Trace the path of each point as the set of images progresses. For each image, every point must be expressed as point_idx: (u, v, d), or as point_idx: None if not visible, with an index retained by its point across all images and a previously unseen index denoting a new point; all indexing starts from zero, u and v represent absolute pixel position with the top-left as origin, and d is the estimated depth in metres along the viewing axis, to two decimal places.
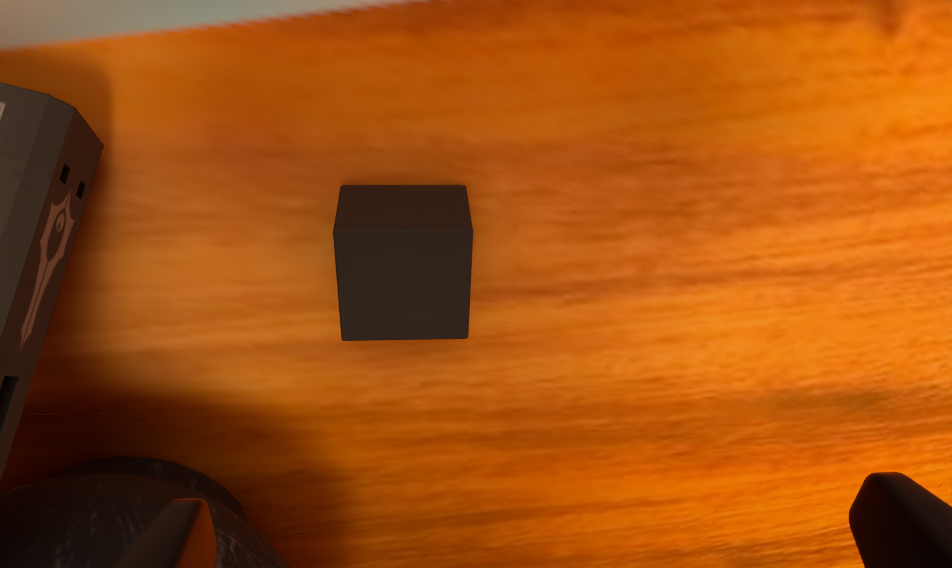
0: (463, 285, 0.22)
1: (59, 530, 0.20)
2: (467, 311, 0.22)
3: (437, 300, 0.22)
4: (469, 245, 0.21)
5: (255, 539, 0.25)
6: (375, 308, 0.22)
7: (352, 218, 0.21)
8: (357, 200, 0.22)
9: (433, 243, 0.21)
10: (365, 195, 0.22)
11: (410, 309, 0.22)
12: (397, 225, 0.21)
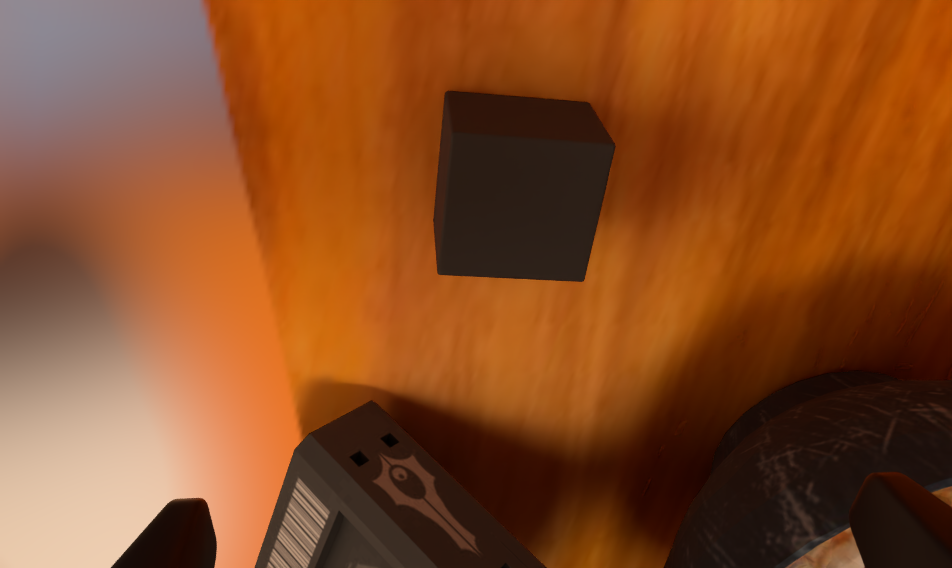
0: (531, 147, 0.17)
1: None
2: (571, 143, 0.17)
3: (547, 179, 0.17)
4: (472, 137, 0.17)
5: (818, 421, 0.21)
6: (544, 245, 0.19)
7: (437, 245, 0.19)
8: (436, 222, 0.20)
9: (465, 177, 0.17)
10: (436, 209, 0.20)
11: (554, 208, 0.18)
12: (442, 209, 0.18)
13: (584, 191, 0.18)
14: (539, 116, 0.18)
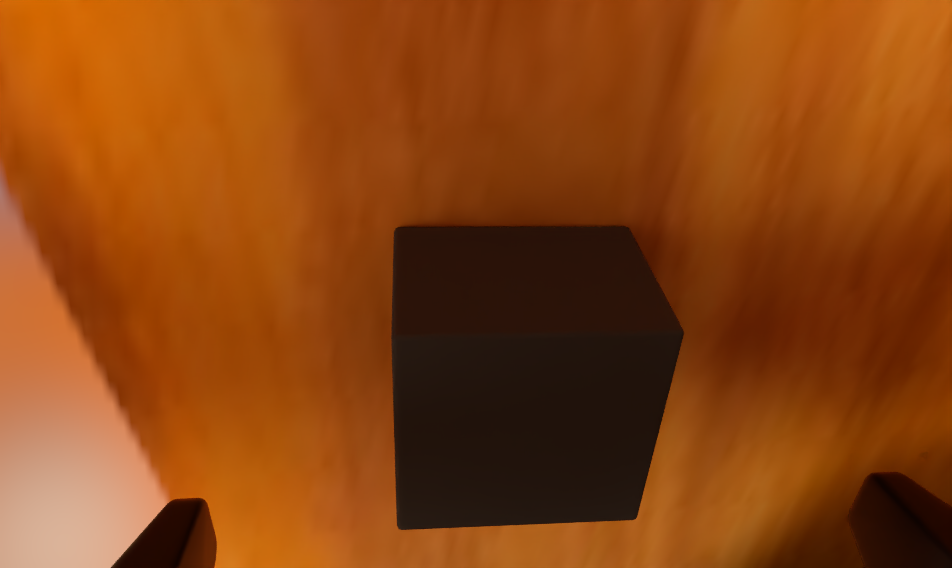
0: (535, 348, 0.10)
1: None
2: (606, 336, 0.10)
3: (568, 390, 0.10)
4: (430, 341, 0.09)
5: None
6: (569, 480, 0.11)
7: None
8: None
9: (424, 400, 0.10)
10: None
11: (582, 430, 0.11)
12: (395, 440, 0.11)
13: (632, 402, 0.10)
14: (548, 272, 0.11)
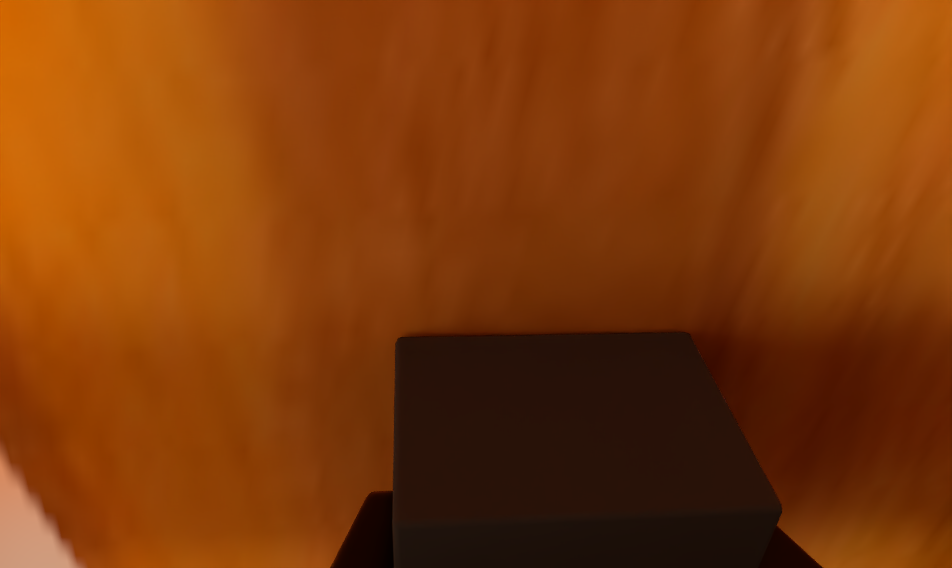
0: (586, 532, 0.07)
1: None
2: (681, 516, 0.07)
3: None
4: (445, 528, 0.07)
5: None
6: None
7: None
8: None
9: None
10: None
11: None
12: None
13: None
14: (594, 409, 0.08)
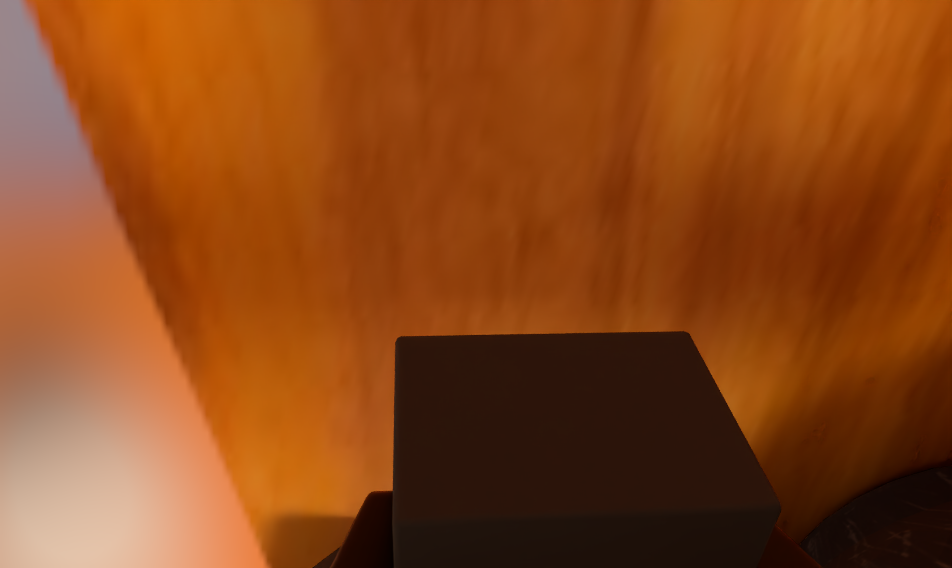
0: (583, 530, 0.07)
1: None
2: (680, 514, 0.07)
3: None
4: (445, 526, 0.07)
5: None
6: None
7: None
8: None
9: None
10: None
11: None
12: None
13: None
14: (594, 407, 0.08)
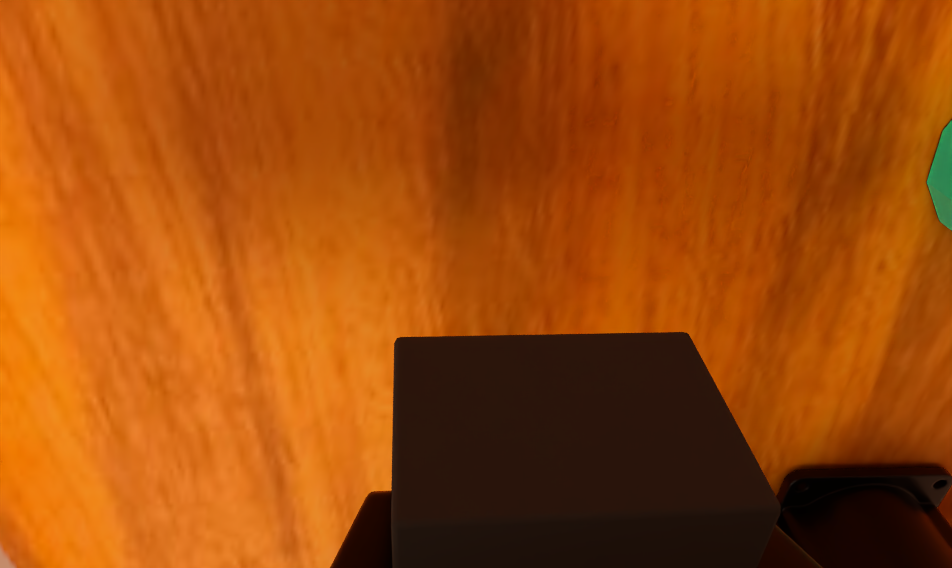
0: (582, 532, 0.07)
1: None
2: (679, 516, 0.07)
3: None
4: (444, 528, 0.07)
5: None
6: None
7: None
8: None
9: None
10: None
11: None
12: None
13: None
14: (593, 408, 0.08)
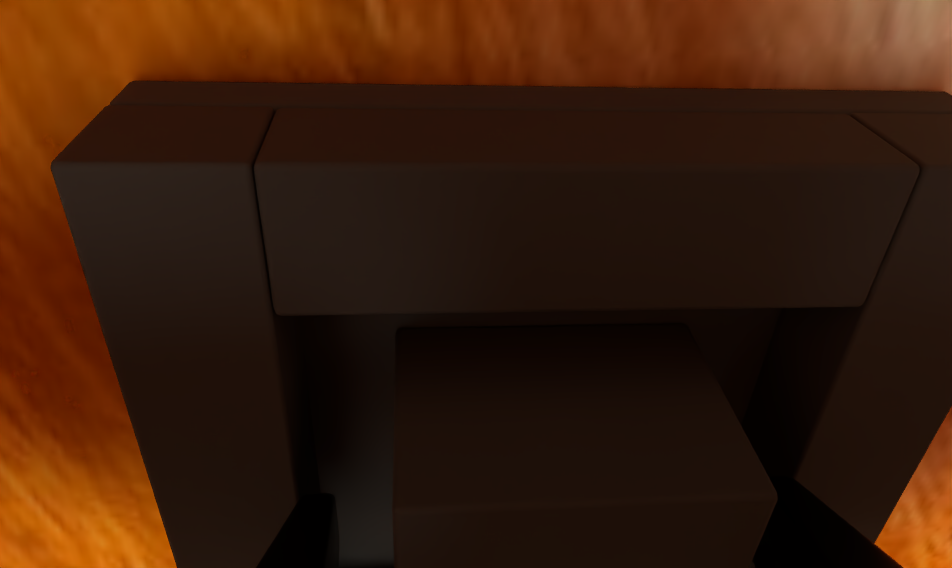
0: (582, 520, 0.07)
1: None
2: (677, 503, 0.07)
3: (621, 563, 0.08)
4: (444, 515, 0.07)
5: None
6: None
7: None
8: None
9: None
10: None
11: None
12: None
13: None
14: (593, 398, 0.08)
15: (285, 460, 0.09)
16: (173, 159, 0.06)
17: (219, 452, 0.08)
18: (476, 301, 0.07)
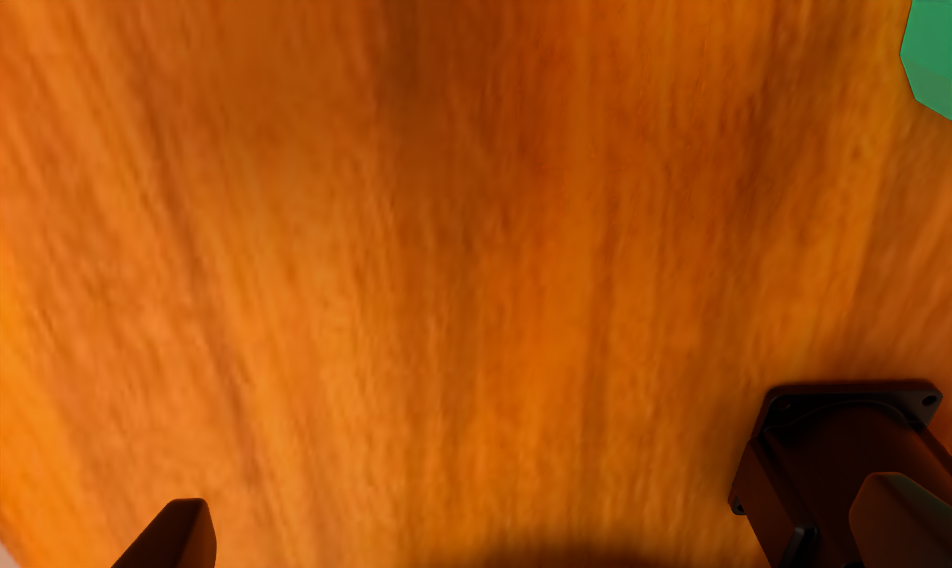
0: None
1: None
2: None
3: None
4: None
5: None
6: None
7: None
8: None
9: None
10: None
11: None
12: None
13: None
14: None
15: None
16: None
17: None
18: None
